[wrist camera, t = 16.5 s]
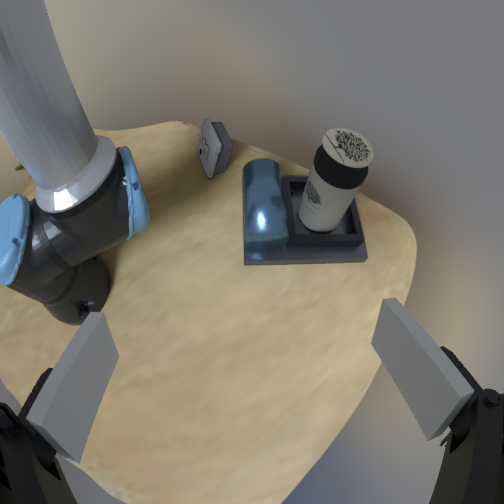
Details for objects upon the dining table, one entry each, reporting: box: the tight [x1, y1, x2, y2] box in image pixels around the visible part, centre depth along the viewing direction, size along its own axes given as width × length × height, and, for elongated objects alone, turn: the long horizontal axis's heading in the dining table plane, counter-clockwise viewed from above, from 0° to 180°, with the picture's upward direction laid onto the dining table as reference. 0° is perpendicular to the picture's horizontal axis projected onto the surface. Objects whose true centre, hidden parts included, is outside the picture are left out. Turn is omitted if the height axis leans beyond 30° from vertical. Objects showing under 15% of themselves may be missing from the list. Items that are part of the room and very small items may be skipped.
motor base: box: [242, 159, 368, 265], centre depth 47 cm, size 22×18×9 cm
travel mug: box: [298, 128, 374, 232], centre depth 41 cm, size 8×8×18 cm
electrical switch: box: [197, 119, 233, 178], centre depth 52 cm, size 9×5×9 cm, turn 21°
